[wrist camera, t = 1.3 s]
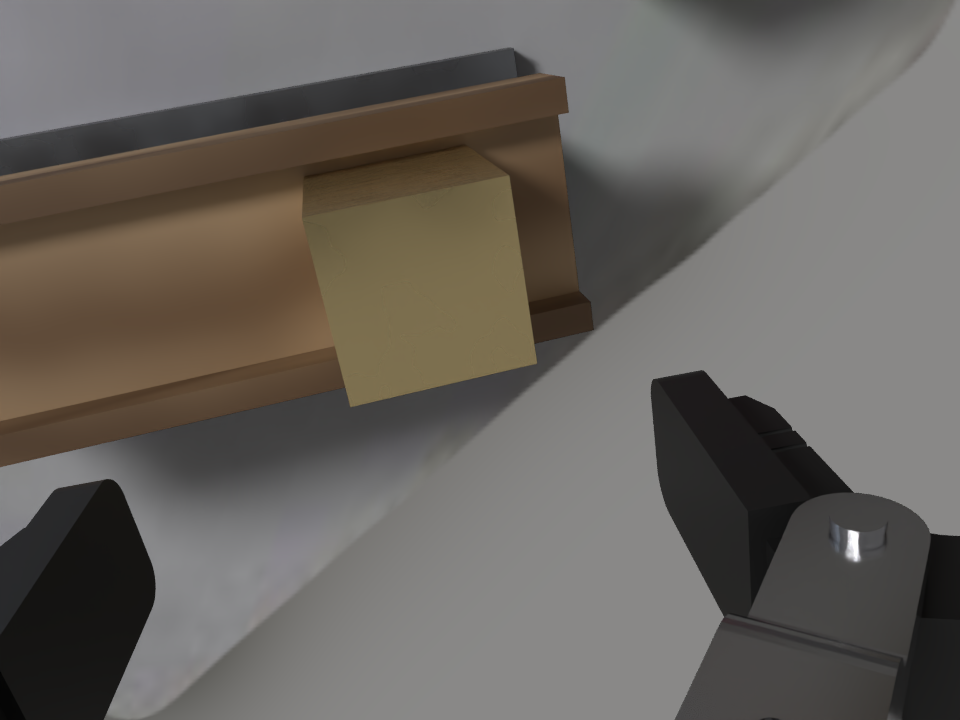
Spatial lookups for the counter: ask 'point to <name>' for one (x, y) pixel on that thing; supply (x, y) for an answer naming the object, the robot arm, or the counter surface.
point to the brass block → (419, 271)
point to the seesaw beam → (232, 263)
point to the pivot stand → (250, 111)
